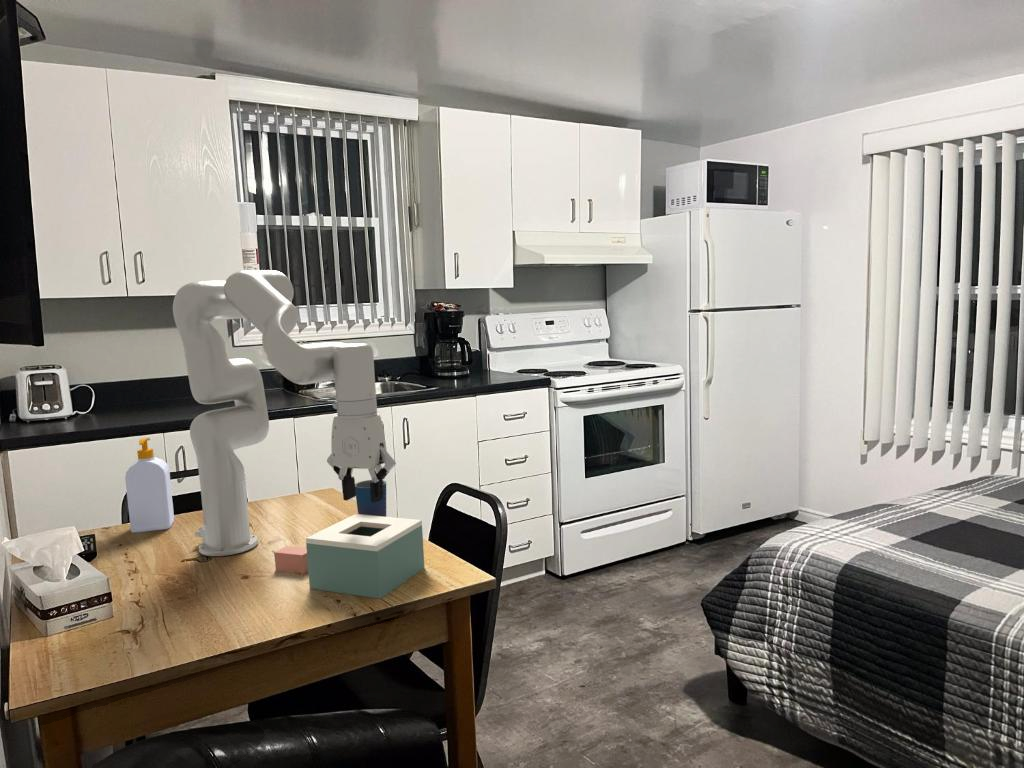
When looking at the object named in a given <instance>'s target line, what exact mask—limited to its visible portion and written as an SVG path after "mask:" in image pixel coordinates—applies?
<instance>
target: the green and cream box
mask: <svg viewBox="0 0 1024 768" xmlns="http://www.w3.org/2000/svg"><path fill="white" fill-rule="evenodd" d="M305 543H306V544H305V545H306V548H307V559H308V571H307V572H308V580H309V589H311V590H316V591H317V590H318V591H325V592H331V593H338V594H339V593H340V594H344V595H353V596H358V597H365V598H371V599H377V600H380V599H383V598H384V597H386V596H387V595H388V594H389V593H391V592H393V590H395V589H397V588H398V587H400V586H401V585H403V584H404V583H405V582H407V581H408V580H410V579H411V578H412V577H414V576H415V575H416V574H418V573H419V572H421V571H422V570H424V569H425V568H426V567H425V556H424V555H425V553H424V552H425V551H424V536H423V521H422V519H414V518H413V519H412V518H405V517H404V518H403V517H395V516H394V517H391V516H386V517H383V516H373V515H362V514H358V513H354V514H353V515H350V516H348V517H346V518H344V519H342V520H340V521H338V522H335V523H334V524H332V525H330V526H328V527H325V528H323V529H322V530H319V531H318V532H317V531H316V533H313V534H311V535H309V536H307V537H305Z"/></svg>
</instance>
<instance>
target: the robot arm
mask: <svg viewBox="0 0 1024 768" xmlns="http://www.w3.org/2000/svg"><path fill="white" fill-rule="evenodd" d="M294 294H295V291H294V286H293V284H292V282H291V280H290V279H289V278H288V276H287V275H285V274H284V273H283V272H280V271H278V270H272V269H271V270H269V269H267V270H265V269H264V270H263V269H261V270H260V269H258V270H257V269H249V270H248V269H247V270H246V269H245V270H239V271H236V272H234V273H232V274H230V275H229V276H228V277H227V279H226V280H198V281H193V282H189V283H186V284H184V285H182V286H181V287H180V288H179V289H178V290H177V292H176V293H175V296H174V298H173V304H172V315H173V319H174V323H175V326H176V328H177V331H178V333H179V335H180V336H179V337H180V338H181V342H182V346H183V349H184V358H185V364H186V368H187V371H186V372H187V376H188V381H189V382H188V383H189V386H190V387H189V388H190V391H191V394H192V397H193V399H194V400H195V401H196V402H197V403H198V404H202V405H212V404H213V405H215V404H220V403H221V404H222V403H226V402H234V406H231V407H224V408H218V409H212V410H208V411H205V412H203V413H201V414H199V415H197V416H195V417H194V419H193V420H192V422H191V424H190V426H189V435H190V441H191V444H192V446H193V450H194V454H195V457H196V462H197V468H198V477H199V478H198V479H199V485H200V495H201V506H202V517H203V525H201V526H199V527H198V530H196V531H195V532H194V536H195V537H196V538H202V543H201V544H199V546H198V552H199V554H201V555H203V556H208V557H224V556H231V555H232V556H233V555H235V554H240V553H244V552H246V551H249V550H252V549H253V548H255V547H256V546H257V545H258V544H259V538H258V536H257V535H254V534H251V530H250V518H249V516H250V515H249V507H248V495H247V484H246V483H247V482H246V473H245V467H244V464H243V463H242V460H240V459H239V458H238V456H237V454H235V452H234V451H235V450H237V449H240V448H245V447H249V446H253V445H257V444H259V443H261V442H263V441H264V440H265V439H266V438H267V436H268V434H269V430H270V423H269V421H270V419H269V414H268V413H269V411H268V407H267V406H268V405H267V399H266V393H265V387H264V381H263V377H262V374H261V371H260V370H259V368H258V366H257V365H256V364H255V362H253V361H252V360H251V359H248V358H242V357H238V358H228V354H227V349H226V348H227V347H226V343H225V340H224V337H223V335H222V334H221V332H220V331H219V330H218V328H217V327H216V326H215V325H214V324H213V323H212V321H219V320H221V321H222V320H239V319H246V320H247V321H248V322H249V323H250V324H251V325H253V326H254V327H255V328H256V329H257V330H258V331H259V332H260V333H262V336H261V341H262V349H263V351H264V355H265V357H266V359H267V360H268V362H269V363H270V364H271V366H272V367H273V368H274V369H276V370H277V372H279V373H280V374H281V375H282V376H283V377H284V378H286V379H287V380H288V381H290V382H292V383H294V384H297V385H303V386H304V385H311V384H317V383H321V382H322V383H324V382H331V381H334V389H335V400H336V401H334V402H332V408H333V409H335V410H336V415H334V416H333V420H332V426H331V441H330V442H331V446H330V447H331V451H330V452H331V454H330V455H329V456H328V457H327V459H326V463H327V464H328V465H329V466H330V467H331V468H332V469H333V471H334V473H335V474H336V475H337V476H338V479H339V481H341V489H342V496H343V497H342V499H343V500H344V501H349V500H351V499H354V498H356V492H355V484H356V480H355V477H354V476H352V474H353V471H354V469H357V470H358V469H360V470H368V472H369V473H368V474H369V476H370V478H371V480H372V481H373V482H371V483H370V494H371V502H372V503H376V502H378V501H380V500H382V499H383V480H385V479H386V476H387V475H388V474H389V473H390V472H391V470H392V469H394V467H395V466H396V465H397V463H396V462H397V461H395V460H394V458H393V457H392V456H391V454H390V453H389V452H388V451H387V443H386V436H385V430H384V426H383V422H382V418H381V415H380V414H379V413H378V403H377V393H376V392H377V391H376V376H375V361H374V360H375V359H374V358H375V357H374V350H373V347H372V345H370V344H368V343H363V342H361V343H360V342H359V343H358V342H357V343H344V342H340V341H339V342H337V341H330V342H329V341H328V342H318V343H309V344H307V343H306V344H299V343H298V342H297V341H295V340H294V339H293V338H292V337H291V336H290V333H291V332H292V331H293V330H294V328H296V326H297V324H298V321H299V312H298V308H297V307H296V306H295V305H294V304H293V303H292V301H293V299H294ZM382 465H384V466H382Z"/></svg>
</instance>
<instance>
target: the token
mask: <svg viewBox="0 0 1024 768" xmlns="http://www.w3.org/2000/svg"><path fill="white" fill-rule="evenodd" d="M273 554H274V564H275V566H274V567H275V571H276V572H277V571H279V572H286V573H287V572H289V573H298V574H306V573H307V572H309V571H308V559H307V547H302V546H290V545H286V546H284V547H282V548H280V549H278V550H276V551H274V553H273Z"/></svg>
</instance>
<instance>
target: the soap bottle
mask: <svg viewBox="0 0 1024 768" xmlns="http://www.w3.org/2000/svg"><path fill="white" fill-rule="evenodd" d="M148 441H151V438H149V437H144V438H141V437H140V438H139V440H138V445H139V446H141V449H138V450H137V460H136V461H134V463H133V464H132V465H130V467H129V468H128V469H127V471H126V472H125V477H124V479H125V480H124V481H125V487H126V499H127V506H128V516H129V527H130V532H131V533H133V534H136V533H144V532H145V533H146V532H155V531H161V530H169V529H170V528H171V527H172V525H173V524H174V521H175V515H174V512H175V511H174V503H173V497H172V495H173V493H172V485H171V484H172V482H171V473H170V468H169V465H168V463H167V462H166V461H164V460H163V459H162V458H160V457H155V456H154V448H152V447H151V448H149V445H148Z"/></svg>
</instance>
